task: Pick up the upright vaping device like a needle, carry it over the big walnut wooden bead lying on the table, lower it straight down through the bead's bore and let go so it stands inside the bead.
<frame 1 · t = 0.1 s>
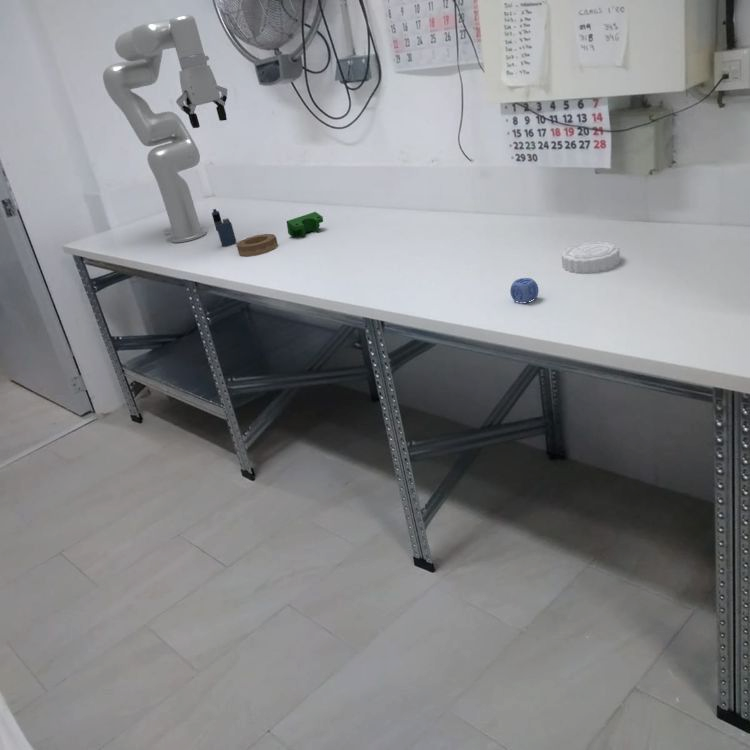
hand: (210, 123, 220), 37 cm above the table, tool pointing down, fingers open, 9 cm apart
decorative dice: (525, 301, 148), on the table
clamp: (308, 234, 231), on the table
vaping device: (229, 245, 238), on the table
mooncake: (591, 265, 159), on the table
wooden bead: (258, 249, 224), on the table
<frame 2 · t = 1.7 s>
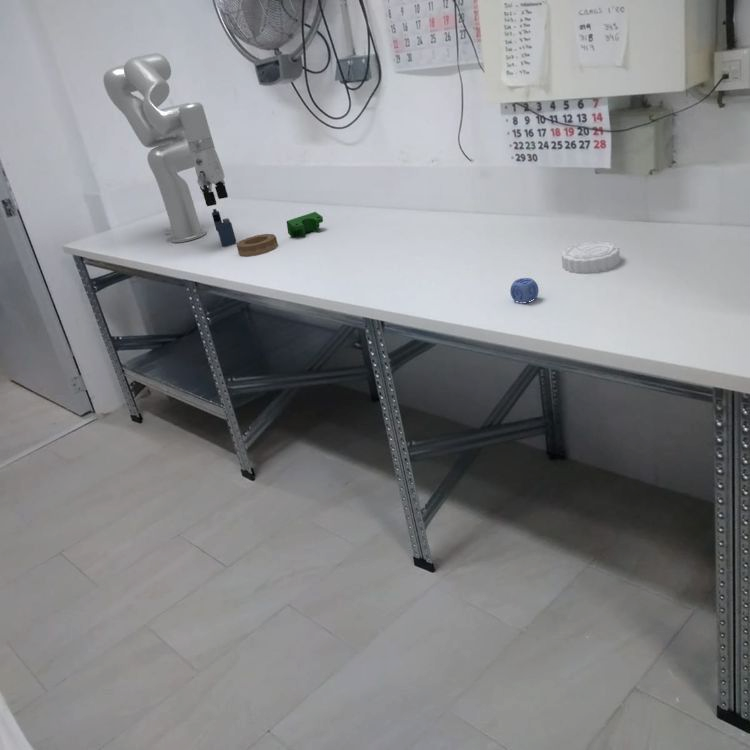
hand: (217, 201, 231), 14 cm above the table, tool pointing down, fingers open, 9 cm apart
nothing on the table moved.
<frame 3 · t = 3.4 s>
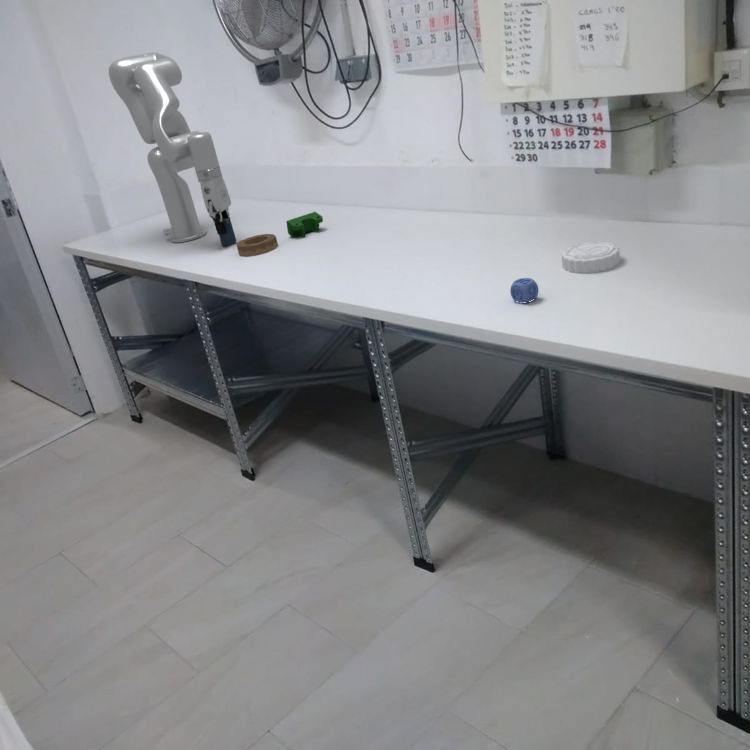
hand: (225, 231, 236), 5 cm above the table, tool pointing down, fingers closed on vaping device, 4 cm apart
vaping device: (229, 245, 238), on the table, touching gripper
everything else where it was.
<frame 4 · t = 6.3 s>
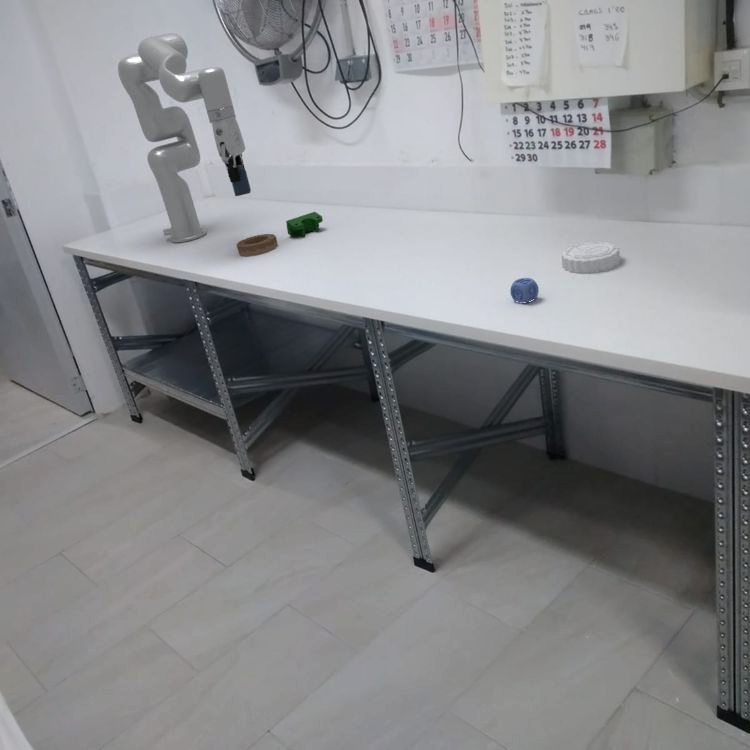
hand: (238, 179, 216), 22 cm above the table, tool pointing down, fingers closed on vaping device, 4 cm apart
vaping device: (242, 194, 218), point 17 cm above the table, touching gripper
everything else where it was.
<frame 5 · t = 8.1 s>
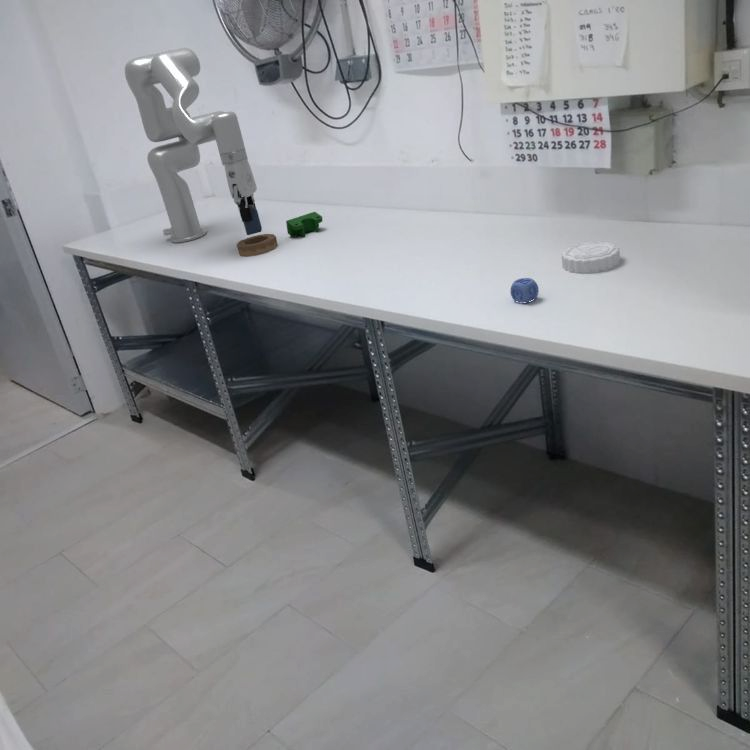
hand: (250, 218, 220), 10 cm above the table, tool pointing down, fingers closed on vaping device, 4 cm apart
vaping device: (254, 233, 222), point 5 cm above the table, touching gripper
everything else where it was.
when the fingers open (5 cm above the table, at t = 9.2 s): vaping device stays where it is, resting in wooden bead.
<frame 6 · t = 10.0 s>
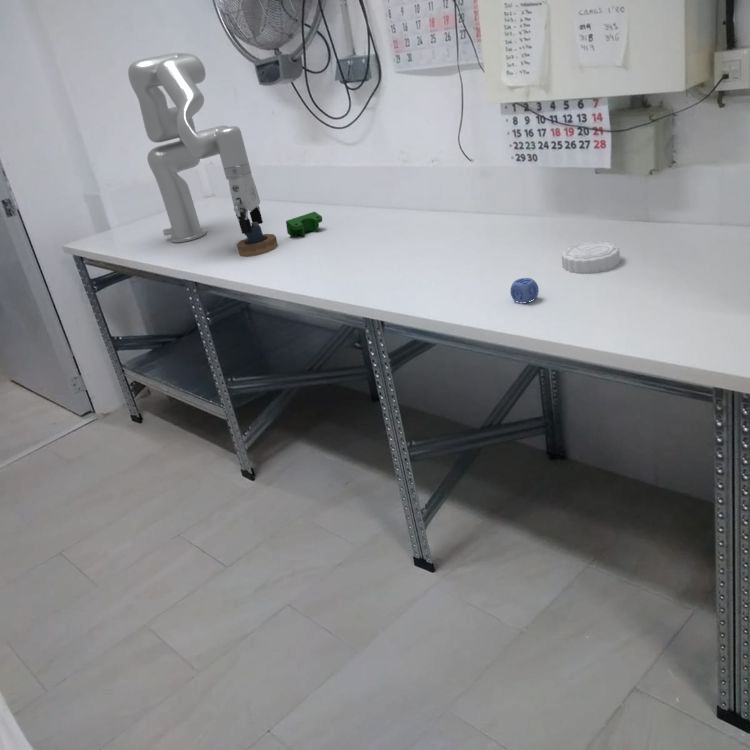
hand: (252, 228, 222), 7 cm above the table, tool pointing down, fingers open, 9 cm apart
vaping device: (258, 250, 225), resting in wooden bead
everything else where it was.
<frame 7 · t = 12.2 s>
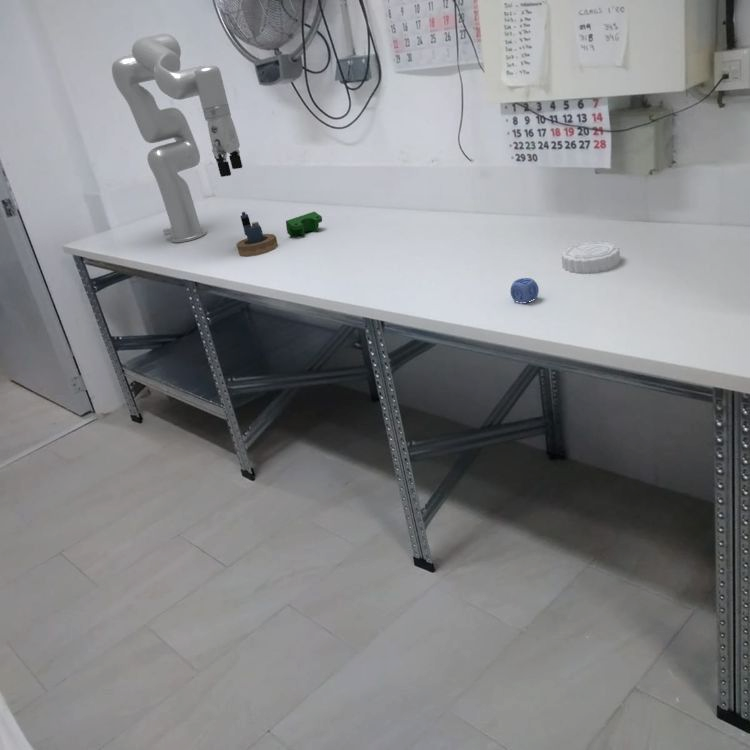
hand: (232, 172, 220), 23 cm above the table, tool pointing down, fingers open, 9 cm apart
nothing on the table moved.
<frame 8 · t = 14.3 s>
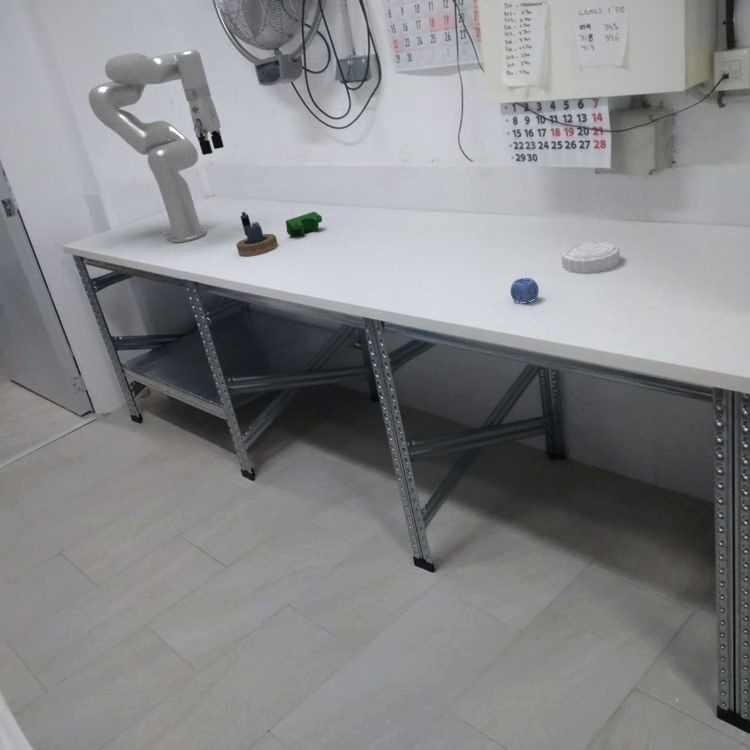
hand: (213, 151, 232), 28 cm above the table, tool pointing down, fingers open, 9 cm apart
nothing on the table moved.
at the end: vaping device 0.1 cm from the wooden bead (horizontally); vaping device resting in wooden bead; vaping device tilted 0° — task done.
